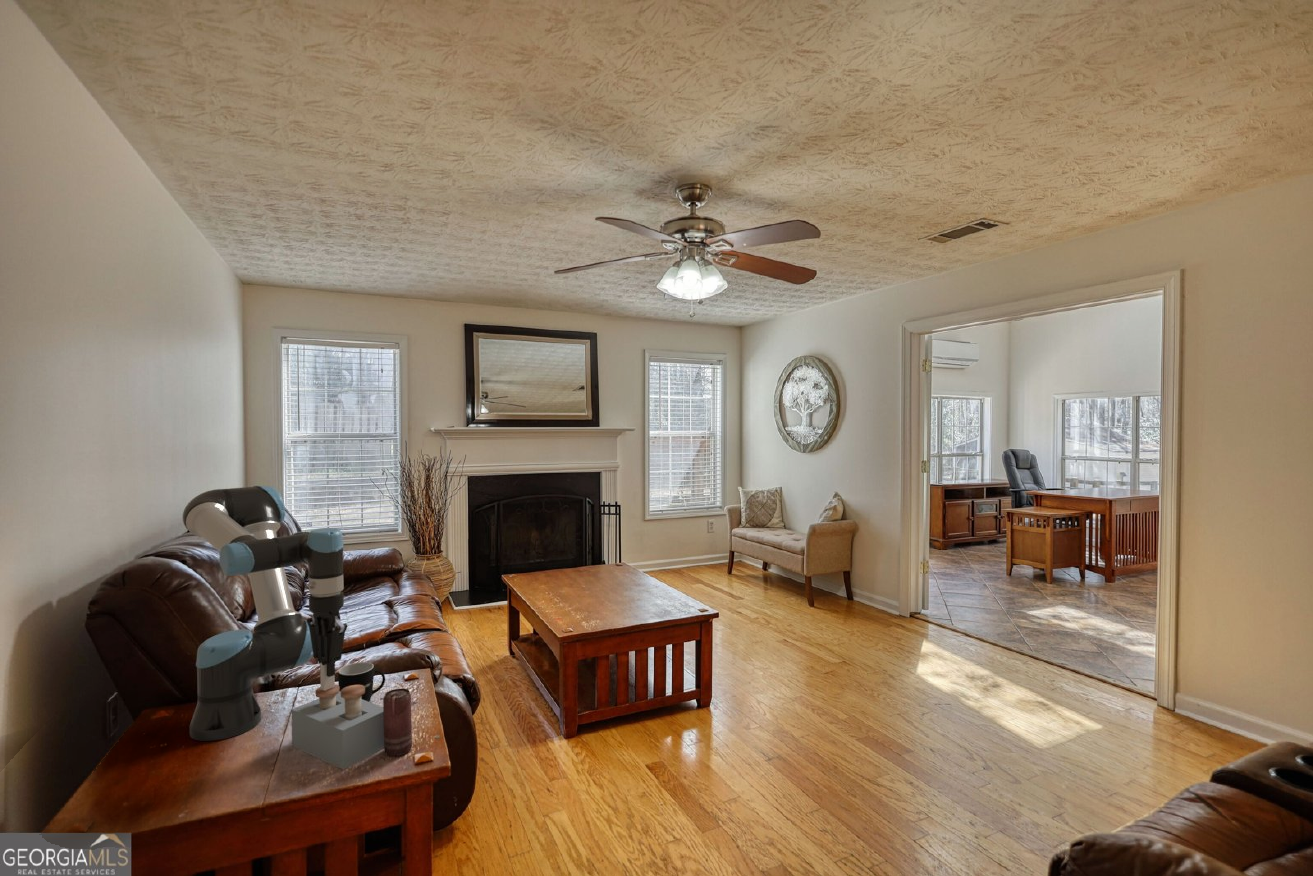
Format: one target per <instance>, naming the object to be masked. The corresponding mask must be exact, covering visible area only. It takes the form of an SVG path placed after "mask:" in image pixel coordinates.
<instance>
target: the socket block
mask: <svg viewBox="0 0 1313 876" xmlns="http://www.w3.org/2000/svg"><path fill="white" fill-rule="evenodd" d="M361 703H362V716H360V717H358V718H355V719H353V720H351V721H350V720H347V719H345V698H342V697H341V692H340V691H339V693H338V694H336V706H334V707H332V708H329V709H327V710H322V709H319V698H316V699H314V700H311V701H309V702H307V703H305V704H302V705H300V706H297V707H294V708H292V709H291V746H292V747H293V748H295V749H297V750H300V751H302V752H304V753H306V754H308V755H311V756H312V757H315V758H317V759H319V760H322V761H324V762H326V763H328V764H329V765H332V766H334V767H336V768H338V769H340V770H346V769H348V768H349V767H351V766H353V765H355V764H357V763H359V762H360V761H361V762H362V760H365V759H366V758H369V757H371V756H372V755H374V754H376V753H378V752H379V751H382V750H383V749H384V716H383V705H379V704H376V703H373V702H368V701H365V700H362V699H361Z"/></svg>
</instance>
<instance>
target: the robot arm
mask: <svg viewBox="0 0 1313 876" xmlns="http://www.w3.org/2000/svg"><path fill="white" fill-rule="evenodd" d="M285 507H286V506H285V503H284V498H283V496H282V495H281V493H280V492H279V491H278V489H276V488H275V487H273V486H270V485H265V486H264V485H263V486H261V485H253V486H247V487H246V486H244V487H234V488H219V489H218V488H217V489H212V490H207V491H205V492H202V493H200V494H198V495H197V496H195V497H193V498H192V499H191V500H190V501H189V502H187V504H186V506H185V508H184V510H183V512H182V522H183V526H184V527H185V528H186V530H187V531H189V532H190V533H191V534H192V535H194V536H196V537H199V538H200V537H201V538H203V539H204V540H205V541H206V542H207V543H209V545H210V546H212V547H213V549H215V550H216V551H218V553H219V565H220V566H219V567H220V568H221V570H222V573H223V574H224V575H225V576H229V577H231V576H239V575H240V576H244V575H247V574H248V578H249V582H250V583H249V584H250V586H251V592H252V595H253V596H252V597H253V600H254V606H255V610H256V615H257V619H258V620H257V622H256V624H255V625H254V626H253V628H252V629H253V632H254V633H252V631H251V630H250V629H246V628H242V629H241V628H240V629H236V630H234V629H232V630H229V631H225V632H220V633H219V634H216V635H214V636H212V637H210V638H207V639H205V641H204V642H202V643H201V644H200V645H199V646H198V648H197V652H196V653H197V654H196V661H195V667H196V677H197V678H196V679H197V680H196V681H197V682H196V683H197V687H196V688H197V704H196V707H195V709H194V712H193V715H192V719H191V721H190V724H189V737H190V738H191V739H193V740H195V741H199V742H211V741H220V740H225V739H229V738H232V737H236V736H238V735H241V734H243V733H246V732H248V731H250V730H252V729H253V728H255V727H256V726H258V725H259V724H260V723H261V720H262V709H261V707H260V705H259V702H258V700H257V697H256V696H255V693H254V690H253V688H254V687H253V684H254V683H253V682H254V680H256V679H259V678H260V679H261V678H263V677H266V676H269V675H274V674H277V673H281V672H283V671H288V670H293V669H296V668H297V667H300V666H303V665H305V664H306V665H307V663H308V662H310V660H311V659H312V657H313V658H314V659H317V661H318V663H319V674H320V675H319V676H320V677H319V678H320V687H321V690H323V691H325V690H328V689H330V688H333V687H335V685H336V683H335V682H336V681H335V680H336V678H335V677H336V675H335V674H336V662H337V661H340V660H342V658H343V657H342V655H343V647H344V644H345V643H344V642H345V635H346V631H347V628H348V624H347V623H346V622H345V623H343V622H341V615H340V610H341V609H343V607H344V601H345V600H344V599H345V598H344V597H345V596H344V594H345V593H344V592H343V590H344V587H345V586H344V582H345V581H344V541H343V540H344V539H343V533H342V531H341V530H340V529H339V528H335V527H334V528H333V527H330V528H329V527H327V528H324V527H323V528H317V529H313V530H311V531H297V532H294V533H291V535H285V536H278V535H277V532H278V531H279V529H280V528H281V523H283V521H284V520H285V519H286V518H285V517H286V511H285V509H286V508H285ZM300 565H306V566H307V569H308V575H307V576H308V585H307V587H308V593H309V594H310V595H309V596H308V611H309V612H312V613H313V614H312V617H309V618H307V619H305V620H303V616H302V613H301V612H300V611H297V610H295V607H294V604H293V599H292V596H291V592H290V588H289V587H290V586H289V583H288V578H287V574H286V571H285V570H286V569H285V568H288V567H292V566H293V567H294V566H300Z"/></svg>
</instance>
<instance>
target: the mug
mask: <svg viewBox="0 0 1313 876" xmlns="http://www.w3.org/2000/svg"><path fill="white" fill-rule="evenodd" d="M374 666H375V665H374V664H373V663H371V662H367V661H358V662H352V663H349V664H346V665H343V666H342V667H340V668H339V669H338V671H337V681H338V682H337V683H338V684H337V685H338V686H339V691H340V692H341V690H342V689H343V688H345V687H348V686H351V685H363V686H365V693H364V694H363V695H361V699H362V700H365V701H368V702H370V701H371V699H372V696H373V695H374V694H376V693H377V692H379V691H380V690H381V689H382V688H383V686H384V685H385V683H386V676H385V673H384V672H383V671H381V670H379V669H375V667H374ZM375 674H380V675H381V677H382V679H381V680H382V681H381V683H380V685H379V686H378V687H376V688H375V689H374V678H375Z"/></svg>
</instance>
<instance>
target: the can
mask: <svg viewBox="0 0 1313 876" xmlns="http://www.w3.org/2000/svg"><path fill="white" fill-rule="evenodd" d="M382 704H383V705H382V707H383V716H384V750H383V751H384V754H385V755H386V756H388V757H392V758H395V757H400V756H403V755H406V754H408V753H409V752H410V751H411V749H412V747H413V735H412V734H413V730H412V728H413V727H412V726H413V725H412V693H411V692H410V690H409V689H407V688H394V689H391V690H389V691H387V692H385V694H384V697H383V700H382Z"/></svg>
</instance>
